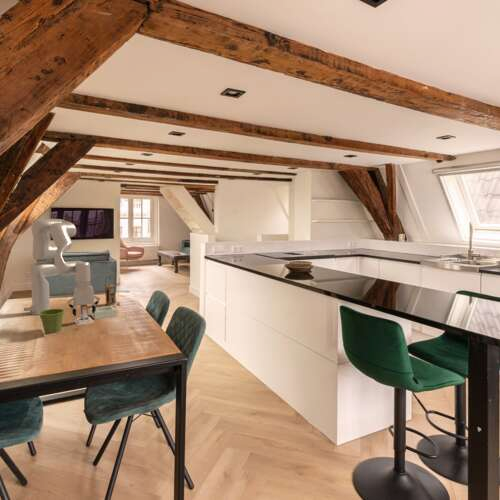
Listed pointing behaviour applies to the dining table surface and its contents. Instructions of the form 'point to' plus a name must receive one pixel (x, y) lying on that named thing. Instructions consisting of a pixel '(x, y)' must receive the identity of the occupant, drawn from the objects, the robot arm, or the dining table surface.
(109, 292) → the multimeter
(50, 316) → the plant pot
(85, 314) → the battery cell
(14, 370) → the dining table surface
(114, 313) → the white open box
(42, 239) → the robot arm
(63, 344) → the dining table surface
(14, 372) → the dining table surface
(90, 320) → the checker cradle
